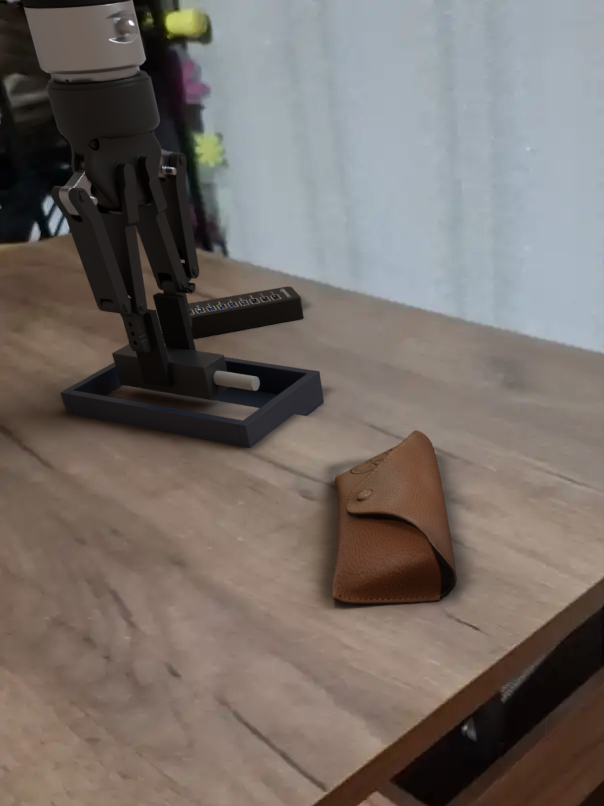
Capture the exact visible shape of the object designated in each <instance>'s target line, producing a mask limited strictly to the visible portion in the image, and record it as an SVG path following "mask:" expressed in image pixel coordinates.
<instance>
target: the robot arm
mask: <svg viewBox="0 0 604 806" xmlns="http://www.w3.org/2000/svg"><path fill="white" fill-rule="evenodd" d="M21 2H22V3H21V4H22V6H23V9H24V14H25V16H26V21H27V24H28V28H29V31H30V35H31V39H32V42H33V46H34V50H35V53H36V57H37V60H38V64H39V68H40V69H41V70H42V71H43V72H45V73H47V74H50V77H51V78H50V79H48V81H47V84H46V85H45V88H46V91H47V95H48V99H49V103H50V106H51V110H52V113H53V117H54V121H55V124H56V128H57V131H58V132H59V133H60V134H61V135H62V136H63V137H64V139H66V140H67V141H68V143H69V145H70V148H71V149H70V150H71V170H72V173H73V174H72V176H71V177H70V178H69V180H68V181H67V182H66V184H65V185H63V186H61V185H54V186H53V187H52V188H51V190H50V196H51V199H52V201H53V203H54V204H55V205H56V207H57V208H58V210H59V211H60V213H61V215H62V216H63V217H64V218H65V220H66V223H67V226H68V229H69V232H70V234H71V237H72V240H73V242H74V245H75V247H76V251H77V253H78V256H79V258H80V259H79V260H80V261H81V264H82V267H83V270H84V272H85V275H86V278H87V281H88V284H89V287H90V289H91V293H92V295H93V299H94V300H95V303H96V306H97V308H98V310H99V311H101V312H106V313H114V314H119V315H120V317H121V319H122V322H123V326H124V329H125V334H126V336H127V339H128V344H130V347H131V349H132V350H133V351H136V354H137V358H138V362H139V365H140V369H141V373H142V376H143V380H144V383H146V384H152V385H158V386H164V387H170V386H172V385H174V381H173V377H172V373H171V370H170V366H169V360H168V356H167V352H166V348H165V346H168V347H175V348H182V349H188V350H195V351H197V348H196V345H195V341H194V340H195V339H193V335H192V331H191V327H192V318H191V314H190V310H189V305H188V304H189V300H188V296H187V294H189V295H191V294H194V293H195V291H196V289H197V288H196V283H195V282H190V281H191V280H192V279H195V280H196V279H198V278H199V275H200V266H199V261H198V253H197V248H196V242H195V241H196V240H195V235H194V230H193V222H192V215H191V210H190V203H189V196H188V191H187V186H186V185H187V184H186V183H187V182H186V181H187V163H188V161H187V157H186V155H185V154H184V153H183V152H179V151H178V152H177V151H168V150H166V149H163V148H162V146H161V143H160V141H159V140H158V138H157V137H156V135H155V132H154V130H155V129H156V128H158V126H159V125H160V122H161V117H160V113H159V108H158V103H157V99H156V94H155V91H154V86H153V82H152V81H153V80H152V77H151V76H150V75H148V72H147V71H145V70H141V69H140V66H142V65H143V64H144V63H145V62H146V60H147V58H146V54H145V49H144V45H143V41H142V36H141V31H140V28H139V22H138V17H137V14H136V10H135V5H134V1H133V0H21ZM137 233H138V235H137ZM138 236H139V239H140V241H141V244H142V247H143V250H144V253H145V255H146V258H147V261H148V264H149V267H150V269H151V272H152V274H153V278H154V280H155V284H156V287H157V288H158V290H160V291H162V292H157V293H155V294H152V300H153V302H154V307H155V309H151V308H148V301H147V295H146V294H147V293H146V288H145V282H144V275H143V268H142V261H141V255H140V249H139V241H138ZM182 261H184V262H182Z"/></svg>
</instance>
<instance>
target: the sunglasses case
mask: <svg viewBox="0 0 604 806" xmlns="http://www.w3.org/2000/svg"><path fill="white" fill-rule="evenodd" d="M440 473H441V472H440V467H439V463H438V459H437V454H436V451H435V447H434V446H433V442H432V441H431V440H430V438H429V437H428V436H427V435H426V434H425V433H424V432H422V431H420V430H414V431H412V432H411V433H410V434H408V436H406V437H405V438H404V439H402V441H401V442H399V443H398V444H397V445H395V446H393V447H390V448H389V449H387V450H385V451H383V452H381V453H379V454H377V455H375V456H373V457H371V458H369V459H368V460H365V461H364V462H361V463H359V464H358V465H356V466H353V467H352V468H349V469H348V470H345V471H343V472H342V473H338V474H336V476H335V477H334V482H335V490H336V494H337V495H336V497H337V533H336V535H337V540H336V555H335V563H334V570H333V577H332V578H333V580H332V587H331V588H332V590H331V591H332V592H331V593H332V594H331V598H332V599H333V600H335V601H337V602H340V603H342V604H348V605H349V604H350V605H351V604H352V605H353V604H356V605H357V604H358V605H375V606H376V605H379V606H380V605H396V604H395V603H402V604H412V603H411V602H418V603H422V602H421V601H430V602H439V601H441V600H443V599H444V598H446V597H448V596H449V595H450V594H451V593H452V592H453V590H454V589H455V587H456V585H457V580H458V579H457V571H456V563H455V562H456V561H455V556H454V548H453V540H452V536H451V528H450V523H449V519H448V513H447V506H446V501H445V496H444V490H443V483H442V478H441V474H440Z"/></svg>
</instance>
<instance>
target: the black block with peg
mask: <svg viewBox="0 0 604 806" xmlns="http://www.w3.org/2000/svg"><path fill="white" fill-rule="evenodd" d="M165 348H166V352H167V356H168V360H169V366H170V370H171V373H172V377H173V381H174V385H172V386H170V387H164V386H158V385H152V384H146V383H144V380H143V376H142V373H141V369H140V365H139V362H138V358H137V354H136V351H133V350H132V349H131V347H130V344H129V343H128V344H126V345H125V346H122V347H121V348H119V349H117V350H115V351H113V352H112V353H111V356H112V360H113V363H115V366H116V370H117V373H118V377H119V380H120V383H121V385H123V386H126V387H132V388H136V389H142V390H149V391H154V392H161V393H166V394H170V395H171V394H172V395H177V396H182V397H183V396H184V397H189V398H196V399H200V400H201V399H202V400H207V401H213V400H212V399H213V398H215V397H216V396H218V395H219V394H221V393H222V392H224V391H225V390H227V389H228V388H230V387H235V388H241V389H247V390H253V391H256V390H258V388H259V386H260V381H259V378H258V377H256V376H250V375H243V374H237V373H231V372H227V367H226V362H225V358H224V357H225V354H221V353H215V352H214V353H213V352H207V351H200V350H196V351H195V350H188V349H182V348H175V347H168V346H165Z"/></svg>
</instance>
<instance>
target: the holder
mask: <svg viewBox="0 0 604 806" xmlns="http://www.w3.org/2000/svg"><path fill="white" fill-rule="evenodd" d="M224 358H225V362H226V367H227V372H231V373H237V374H243V375H250V376H256V377H258V378H259V381H260V386H259V388H258V390H256V391H253V390H247V389H241V388H235V387H230V388H228V389H227V390H225V391H224V392H222V393H221V394H219V395H218V396H216V397H215V398H213V399H212V400H211V401H215V402H220V403H227V404H231V405H232V404H233V405H237V406H238V405H239V406H245V407H250V408H256V409H257V410H255V411H254V412H253V413H251V414H250V415H249V416H247V417H246V418H244V419H236V418H231V417H226V416H220V415H214V414H208V413H204V412H198V411H193V410H188V409H187V410H186V409H181V408H175V407H169V406H163V405H160V404H159V405H158V404H153V403H147V402H141V401H135V400H130V399H124V398H119V397H114V396H113V397H112V396H108V395H110V394H111V393H113V392H115V391H116V390H118V389H120V388H122V387H123V386H124V385H121V383H120V380H119V377H118V373H117V370H116V366H115V363H114V362H112V363H111V364H108V365H106V366H105V367H103V368H101V369H99V370H98V371H96V372H94V373H92V374H91V375H89V376H87V377H86V378H83V379H82V380H80V381H78V382H76V383H75V384H72V385H71V386H69V387H68V388H66V389H64V390H62V391H60V392H59V393H60V396H61V399H62V402H63V403H62V404H63V406H64V409H65V412H66V414H67V415H74V416H78V417H83V418H88V419H93V420H100V421H105V422H110V423H114V424H115V423H116V424H120V425H125V426H130V427H131V426H132V427H135V428H136V427H137V428H143V429H147V430H151V431H157V432H164V433H168V434H174V435H179V436H185V437H189V438H194V439H200V440H204V441H205V440H206V441H211V442H217V443H221V444H226V445H233V446H236V447H242V448H248V449H251V448H252V447H253V446H255V445H256V444H258V443H260V441H262V440H263V439H264V438H265V437H267V436H268V435H269V434H270V433H272V432H273V431H274V430H276V429H277V428H278V427H279V426H281V425H282V424H283V423H285V422H286V421H288V419H290V418H291V417H292V416H294V415H296V416H297V415H298V416H303V417H307V416H308V415H310V414H311V413H312V412H313V411H315V410H316V409H317V408H319V407H320V406H321V405H322V404H324V403H325V399H324V393H323V386H322V385H323V384H322V377H321V372H320V370H314V369H306V368H301V367H293V366H287V365H281V364H273V363H266V362H260V361H255V360H248V359H240V358H234V357H227V356H224Z"/></svg>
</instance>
